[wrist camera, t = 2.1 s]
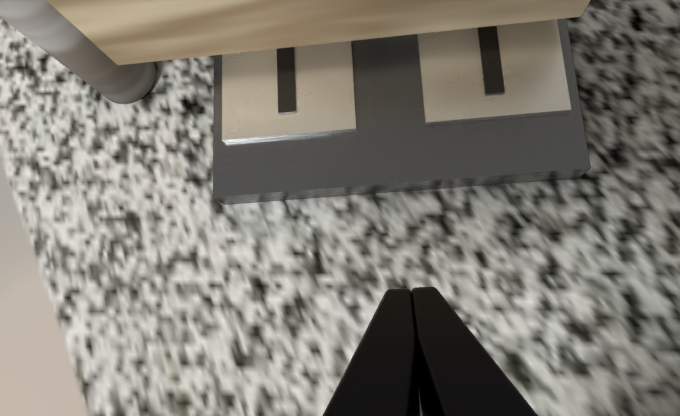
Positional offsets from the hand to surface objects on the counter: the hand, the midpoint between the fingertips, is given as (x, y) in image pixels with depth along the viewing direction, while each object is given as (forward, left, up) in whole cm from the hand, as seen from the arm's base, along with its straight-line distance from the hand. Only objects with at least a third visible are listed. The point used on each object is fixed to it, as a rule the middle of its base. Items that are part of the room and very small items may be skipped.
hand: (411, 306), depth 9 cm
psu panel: (+11, 0, -13) cm, 18 cm away
